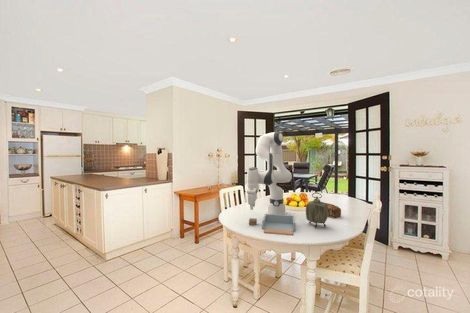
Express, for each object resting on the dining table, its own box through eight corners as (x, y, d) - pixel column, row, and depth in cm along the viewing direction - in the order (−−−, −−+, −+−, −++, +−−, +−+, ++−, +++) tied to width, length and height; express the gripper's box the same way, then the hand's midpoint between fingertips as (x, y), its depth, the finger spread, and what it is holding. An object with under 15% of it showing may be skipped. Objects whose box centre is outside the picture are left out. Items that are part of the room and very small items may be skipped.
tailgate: (264, 228, 153) (263, 231, 146) (292, 230, 149) (293, 234, 142) (264, 230, 153) (263, 233, 146) (292, 232, 149) (293, 236, 142)
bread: (315, 213, 197) (315, 202, 197) (323, 211, 202) (323, 200, 202) (333, 218, 181) (333, 206, 181) (341, 216, 186) (341, 205, 186)
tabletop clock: (327, 226, 163) (328, 192, 162) (326, 230, 155) (326, 194, 154) (307, 223, 170) (308, 190, 169) (305, 226, 162) (305, 192, 162)
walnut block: (250, 224, 167) (250, 217, 167) (256, 225, 166) (256, 218, 166) (249, 226, 162) (249, 220, 162) (255, 227, 161) (255, 220, 161)
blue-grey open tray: (264, 223, 170) (264, 213, 170) (294, 225, 165) (294, 215, 165) (262, 230, 153) (262, 220, 153) (295, 233, 148) (295, 223, 148)
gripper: (250, 187, 174) (250, 204, 174) (246, 191, 154) (246, 211, 154) (258, 187, 173) (258, 205, 173) (255, 191, 153) (255, 211, 153)
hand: (252, 208), depth 163 cm, fingers open, 8 cm apart
